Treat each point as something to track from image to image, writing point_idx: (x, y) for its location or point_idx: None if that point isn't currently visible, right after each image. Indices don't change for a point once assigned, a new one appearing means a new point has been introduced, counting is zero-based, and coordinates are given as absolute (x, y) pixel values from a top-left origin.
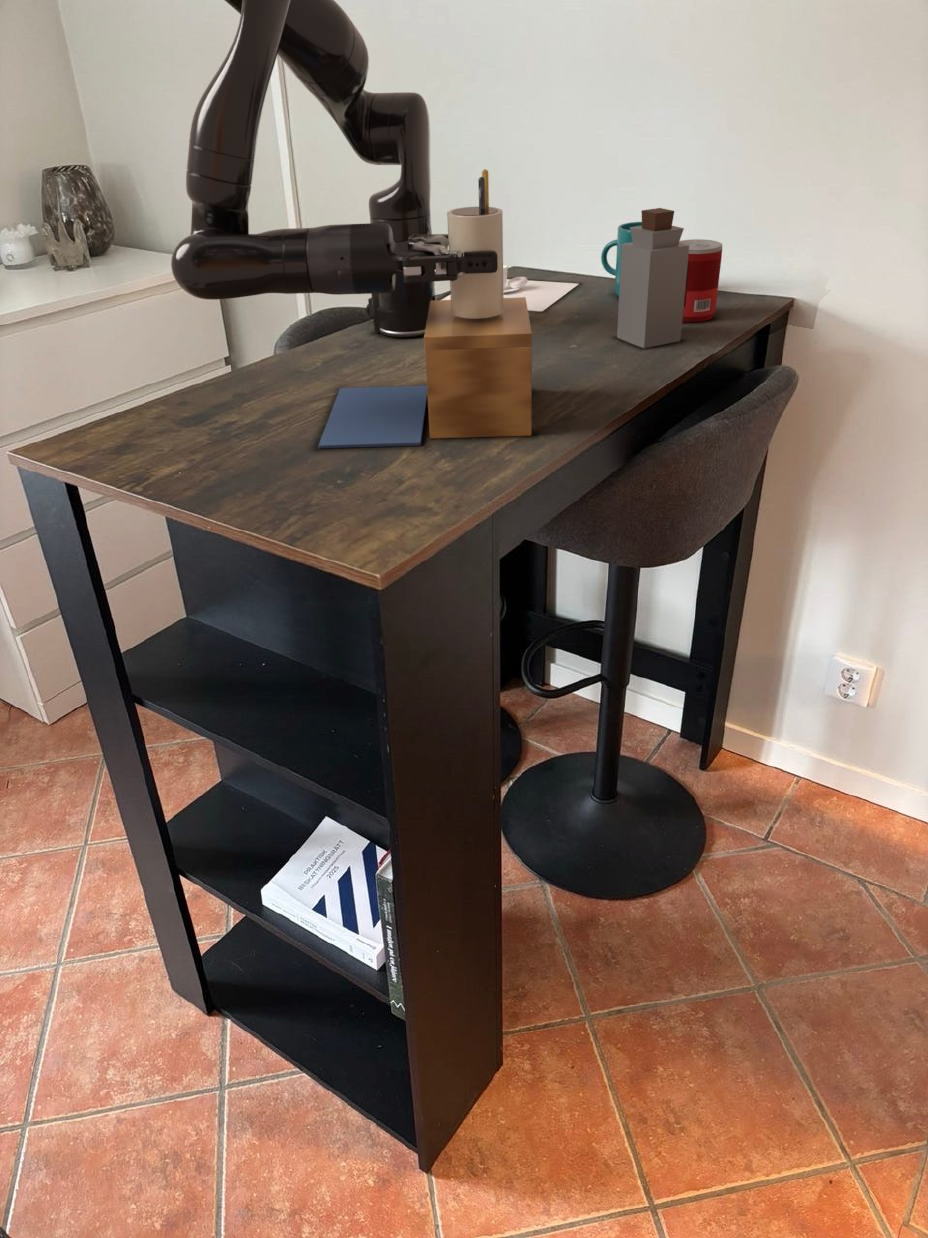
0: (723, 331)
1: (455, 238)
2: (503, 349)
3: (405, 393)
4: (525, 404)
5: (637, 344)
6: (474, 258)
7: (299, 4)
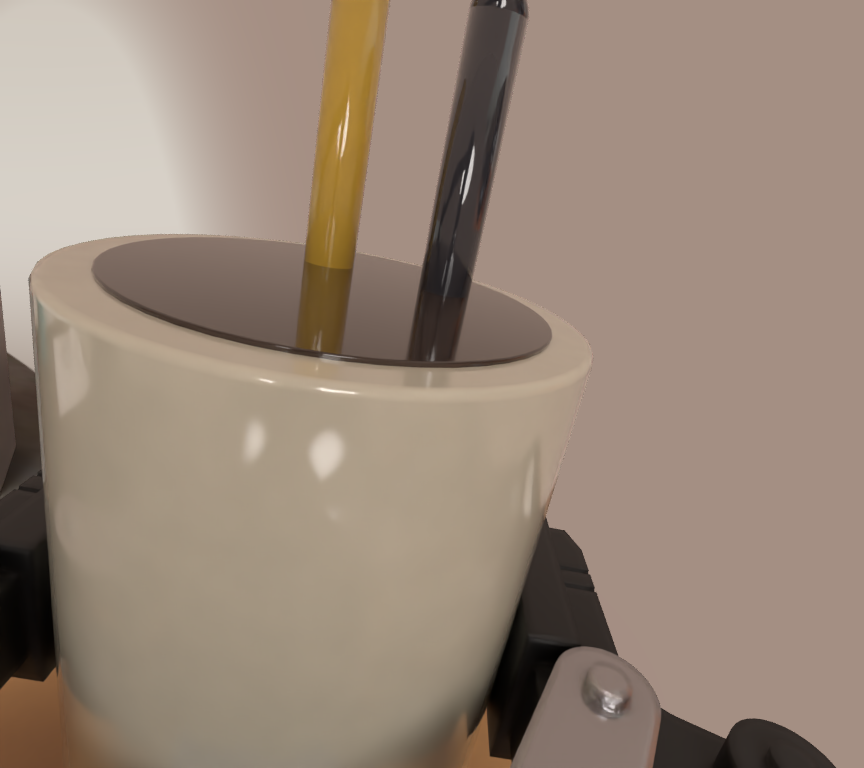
0: (29, 400)
1: (486, 602)
2: None
3: None
4: None
5: None
6: (601, 616)
7: None
